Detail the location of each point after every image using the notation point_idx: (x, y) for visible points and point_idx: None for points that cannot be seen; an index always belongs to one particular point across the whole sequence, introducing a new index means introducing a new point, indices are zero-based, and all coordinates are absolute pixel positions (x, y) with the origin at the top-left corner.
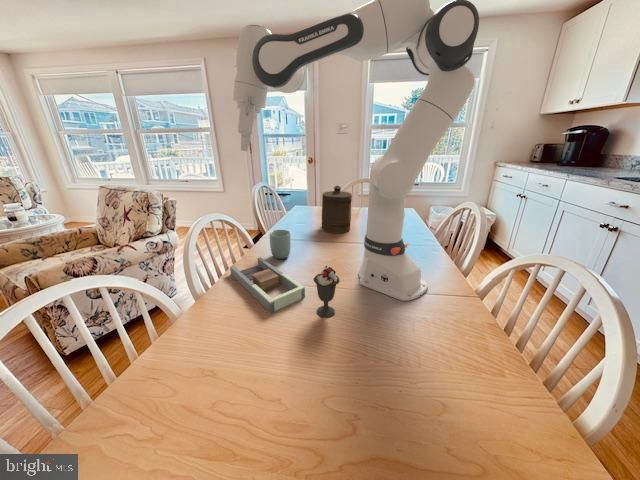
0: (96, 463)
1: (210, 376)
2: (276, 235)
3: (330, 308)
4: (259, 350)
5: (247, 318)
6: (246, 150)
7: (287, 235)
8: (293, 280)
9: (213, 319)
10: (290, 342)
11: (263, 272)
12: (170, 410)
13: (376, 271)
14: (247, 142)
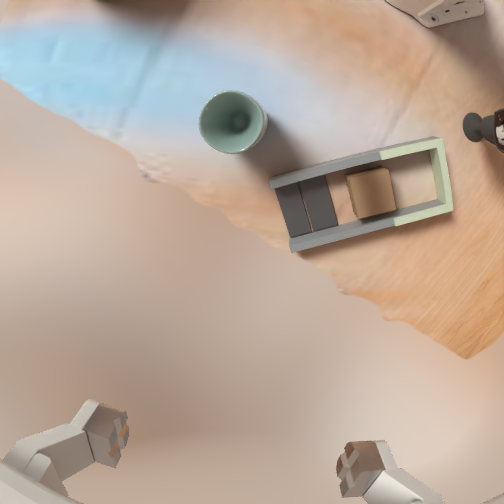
0: (493, 340)
1: (487, 284)
2: (212, 129)
3: (475, 118)
4: (488, 236)
5: (437, 238)
6: (382, 444)
7: (257, 103)
8: (413, 147)
9: (415, 280)
10: (496, 200)
11: (360, 194)
12: (492, 310)
13: (450, 2)
14: (415, 483)
